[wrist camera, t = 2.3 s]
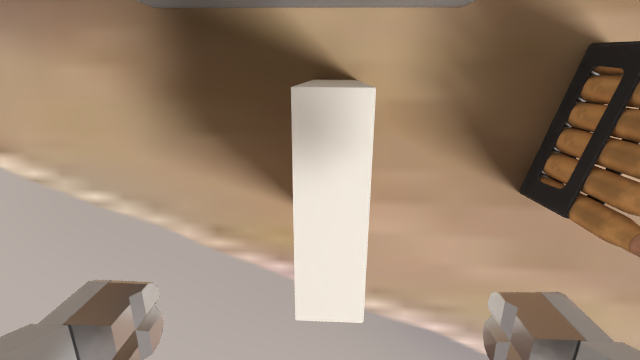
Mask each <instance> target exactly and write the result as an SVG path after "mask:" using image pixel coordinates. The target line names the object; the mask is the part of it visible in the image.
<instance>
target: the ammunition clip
mask: <svg viewBox="0 0 640 360" xmlns="http://www.w3.org/2000/svg"><path fill="white" fill-rule="evenodd" d="M604 104H608V105H604ZM626 106H627V107H636V108H639V109H631V108H625V107H626ZM590 131H591V132H594V133H591V132H590ZM610 136H613V137H617V138H622V140H619V139H615V138H611V137H610ZM639 143H640V41H634V42H609V43H593V44H591V45H590V46H589V47H588V49H587V51H586V53H585V55H584V57H583V59H582V61H581V63H580V65H579V68H578V70H577V72H576V74H575V76H574V78H573V80H572V82H571V84H570V86H569V88H568V91H567V93H566V95H565V97H564V99H563V101H562V103H561V105H560V107H559V109H558V111H557V113H556V116H555V118H554V120H553V122H552V124H551V126H550V128H549V130H548V132H547V134H546V136H545V139H544V141H543V143H542V145H541V147H540V149H539V151H538V153H537V155H536V157H535V159H534V161H533V164H532V166H531V168H530V170H529V172H528V174H527V176H526V178H525V180H524V182H523V184H522V187H521V189H520V191H519V192H520V194H522V195H524V196H526V197H528V198H530V199H531V200H533V201H535V202H537V203H539V204H541V205H542V206H544V207H546V208H548V209H550V210H551V211H553V212H555V213H557V214H559V215H561V216H562V217H564V218H568V219H570V220H572V221H573V222H575V223H577V224H578V225H580V226H581V227H583V228H585V229H586V230H588V231H589V232H591V233H593V234H594V235H596V236H597V237H599V238H601V239H602V240H604V241H606V242H608V243H610V244H613V245H616V246H618V247H621V248H623V249H625V250H627V251H628V252H630V253H632V254H634V255H637V256H638V257H640V226H639V225H638V224H636V223H635V222H634V221H633V220H631V219H630V218H628V217H627V216H625V215H623V214H621V213H619V212H617V211H615V210H613V209H611V208H609V207H607V206H605V205H604V204H605V203H607V204H609V205H611V206H613V207H615V208H617V209H619V210H621V211H623V212H626V213H628V214H632V215H636V216H640V183H639V182H636V181H634V180H631V179H628V178H626V177H623V176H621V174H622V173H623V174H626V175H629V176H632V177H635V178H637V179H640V145H639ZM576 157H577V158H580V159H579V160H577V159H576ZM595 164H597V165H600V166H603V167H606V169H605V170H604V169H602V168H599V167H596V166H594V165H595ZM564 183H565V184H566V185H564ZM580 191H582V192H584V193H586V194H588V195H587V196H585V195H583V194H581V193H580Z"/></svg>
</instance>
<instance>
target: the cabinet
mask: <svg viewBox="0 0 640 360" xmlns="http://www.w3.org/2000/svg"><path fill="white" fill-rule="evenodd" d="M134 1H137V2H140V3H143V4H146V5H149V6H151V7H154V8H330V7H464V6H466V5H468V4H469V3H471V2H473V1H475V0H134Z"/></svg>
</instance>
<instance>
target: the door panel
mask: <svg viewBox="0 0 640 360" xmlns="http://www.w3.org/2000/svg"><path fill="white" fill-rule="evenodd" d="M375 96H376V88H375V87H373V86H370V85H368V84H365V83H363V82H361V81H358V80H311V81H308V82H305V83H302V84H299V85H296V86H293V87H291V115H292V167H293V218H294V270H295V319H296V320H305V321H330V322H331V321H332V322H356V323H363V318H364V300H365V282H366V263H367V244H368V226H369V207H370V189H371V170H372V152H373V133H374V115H375Z"/></svg>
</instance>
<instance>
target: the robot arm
mask: <svg viewBox="0 0 640 360" xmlns="http://www.w3.org/2000/svg"><path fill="white" fill-rule="evenodd" d="M159 298H160V296H159V291H158V286H157V285H156V284H154V283H153V282H135V281H111V280H93V281H88V282H87V283H86V284H85V285H83V286H82V287H81V288H80V289H79V290H77V291H76V292H75V293H74V294H73V295H71V296H70V297H69V298H68V299H67V300H66V301H64V302H63V303H62V304H61V305H60V306H58V307H57V308H56V309H55V310H54V311H52V312H51V313H50V314H49V315H48V316H47V317H45V318H44V319H43V320H42V321H41V322H39V323H38V324H29V325H27V326H25V327H22V328H20V329H18V330H16V331H13V332H11V333H8V334H6V335H4V336H1V337H0V360H144V359H145V358H147V357H148V356H150V355H151V354H153V352H154V351H155V349H156V348H157V346H158V344H159V342H160V339H161V335H162V332H163V315H162V312H161V311H160V310H159V309H158V308H157V307H156V306H155V304H156V302H157V301H158V299H159ZM488 308H489V310H490V311H491V313H492V314H493V315H492V316H491V317H490V318H489V319H488V320H486V321H485V323H484V330H483V339H484V347H485V350H486V353H487V356H488V358H489V360H640V351H639V350H637V349H635V348H633V347H631V346H629V345H627V344H625V343H619V342H614V341H613V340H612V339H611V338H610V337H609V336H608V335H607V334H606V333H605V332H604V331H603V330H602V329H601V328H599V327H598V326H597V325H596V324H595V323H594V322H593V321H592V320H591V319H590V318H589V317H588V316H587V315H586V314H585V313H584V312H583V311H582V310H580V309H579V308H578V307H577V306H576V305H575V304H574V303H573V302H572V301H571V300H570V299H569V298H568V297H567V296H566V295H564V294H562V293H559V292H536V293H531V292H492V294H491V296H490V297H489V302H488Z"/></svg>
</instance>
